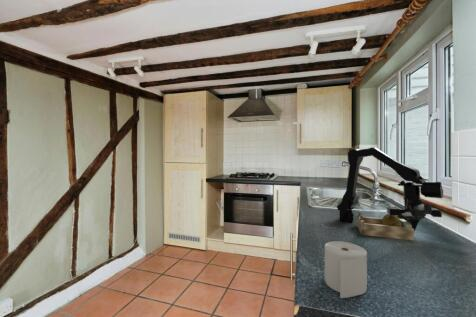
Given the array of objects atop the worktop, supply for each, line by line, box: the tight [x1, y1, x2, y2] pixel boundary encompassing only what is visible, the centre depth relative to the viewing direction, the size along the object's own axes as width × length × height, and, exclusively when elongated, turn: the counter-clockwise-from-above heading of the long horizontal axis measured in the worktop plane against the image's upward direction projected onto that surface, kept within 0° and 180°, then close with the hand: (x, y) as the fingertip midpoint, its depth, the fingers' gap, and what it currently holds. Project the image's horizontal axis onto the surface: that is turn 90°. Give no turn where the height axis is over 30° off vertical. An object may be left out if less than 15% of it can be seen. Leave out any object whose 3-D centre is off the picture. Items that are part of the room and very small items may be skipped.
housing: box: [356, 211, 415, 241], centre depth 103 cm, size 20×13×8 cm
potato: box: [382, 213, 403, 227], centre depth 102 cm, size 8×13×8 cm, turn 140°
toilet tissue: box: [323, 240, 368, 299], centre depth 61 cm, size 11×12×10 cm
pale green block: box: [400, 219, 412, 228], centre depth 99 cm, size 2×10×6 cm, turn 158°
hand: (413, 230), depth 98 cm, fingers closed
